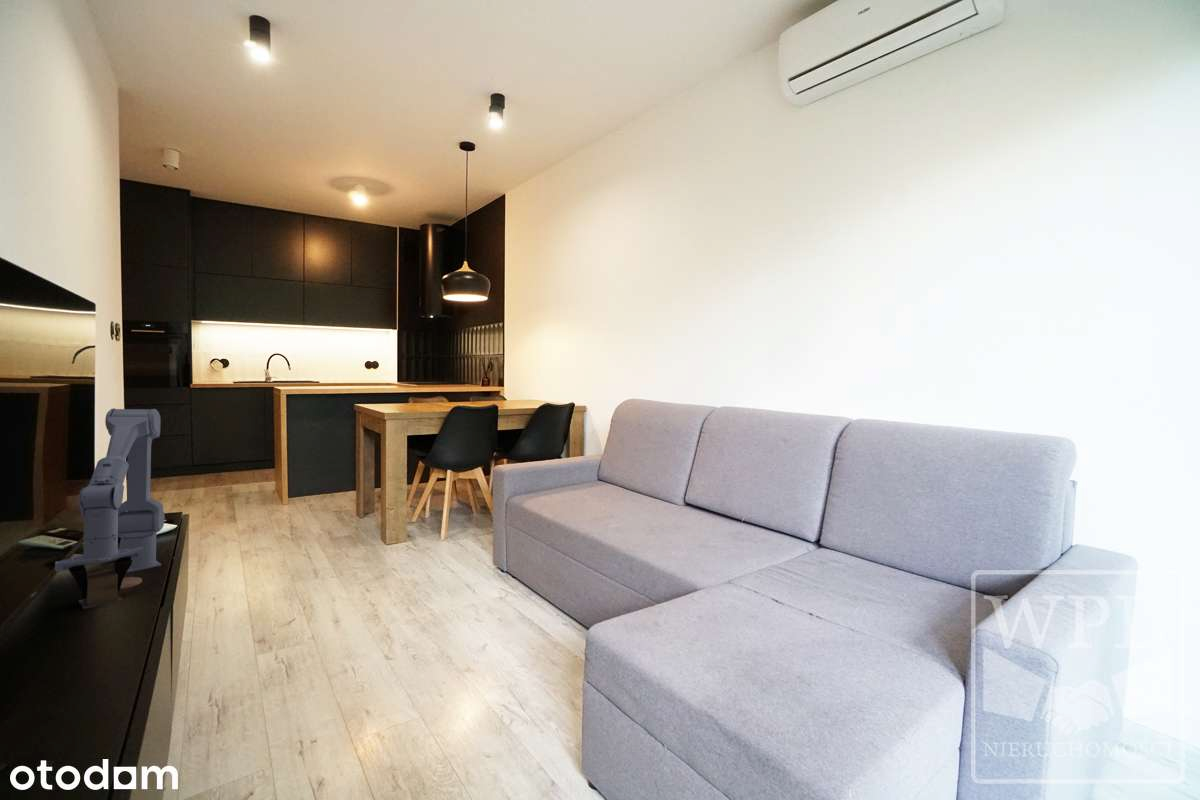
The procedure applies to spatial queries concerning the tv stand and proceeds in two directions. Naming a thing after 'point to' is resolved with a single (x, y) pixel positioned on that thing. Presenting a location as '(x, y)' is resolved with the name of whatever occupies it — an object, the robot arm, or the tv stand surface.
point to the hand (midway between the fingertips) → (100, 594)
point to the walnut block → (101, 587)
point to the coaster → (130, 582)
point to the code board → (97, 604)
